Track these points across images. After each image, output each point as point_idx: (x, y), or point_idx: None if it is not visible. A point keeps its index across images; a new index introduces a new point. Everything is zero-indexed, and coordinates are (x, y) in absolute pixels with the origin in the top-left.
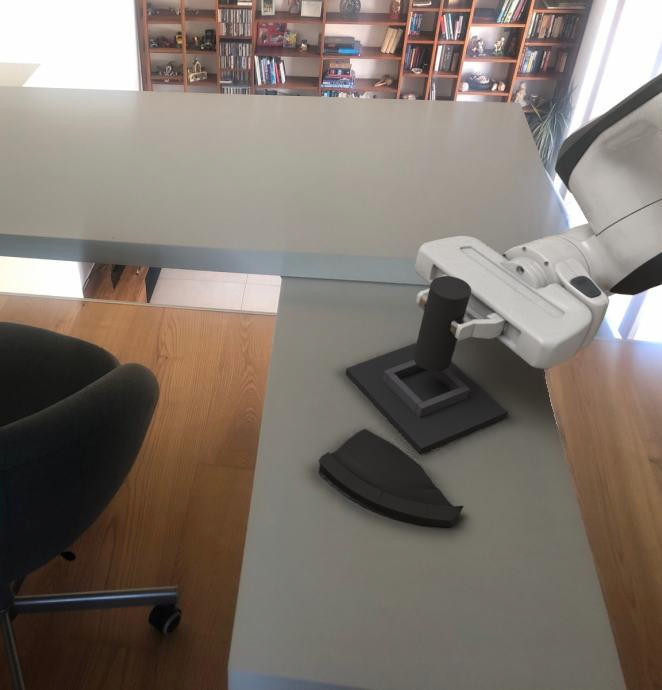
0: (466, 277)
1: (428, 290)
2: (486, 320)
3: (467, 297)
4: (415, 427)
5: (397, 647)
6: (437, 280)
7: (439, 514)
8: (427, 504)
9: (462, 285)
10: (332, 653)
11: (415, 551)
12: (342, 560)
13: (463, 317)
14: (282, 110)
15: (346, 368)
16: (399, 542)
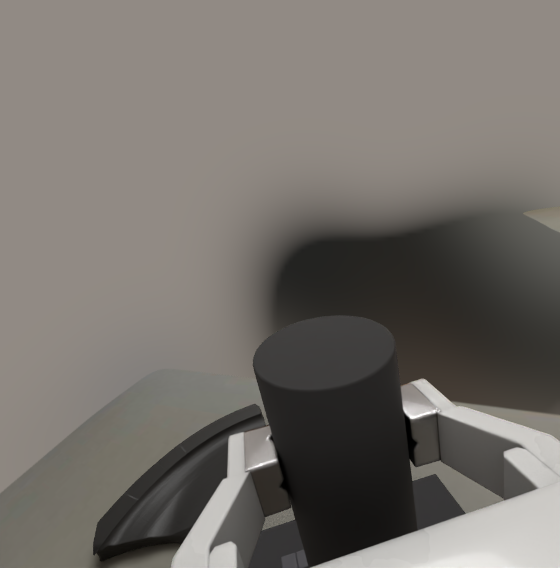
0: (548, 521)
1: (435, 397)
2: (212, 525)
3: (258, 379)
4: (266, 554)
5: (81, 442)
6: (363, 324)
7: (115, 510)
8: (136, 500)
9: (323, 370)
10: (118, 405)
11: (120, 484)
12: (164, 421)
13: (269, 452)
14: None
15: (435, 474)
16: (140, 471)
